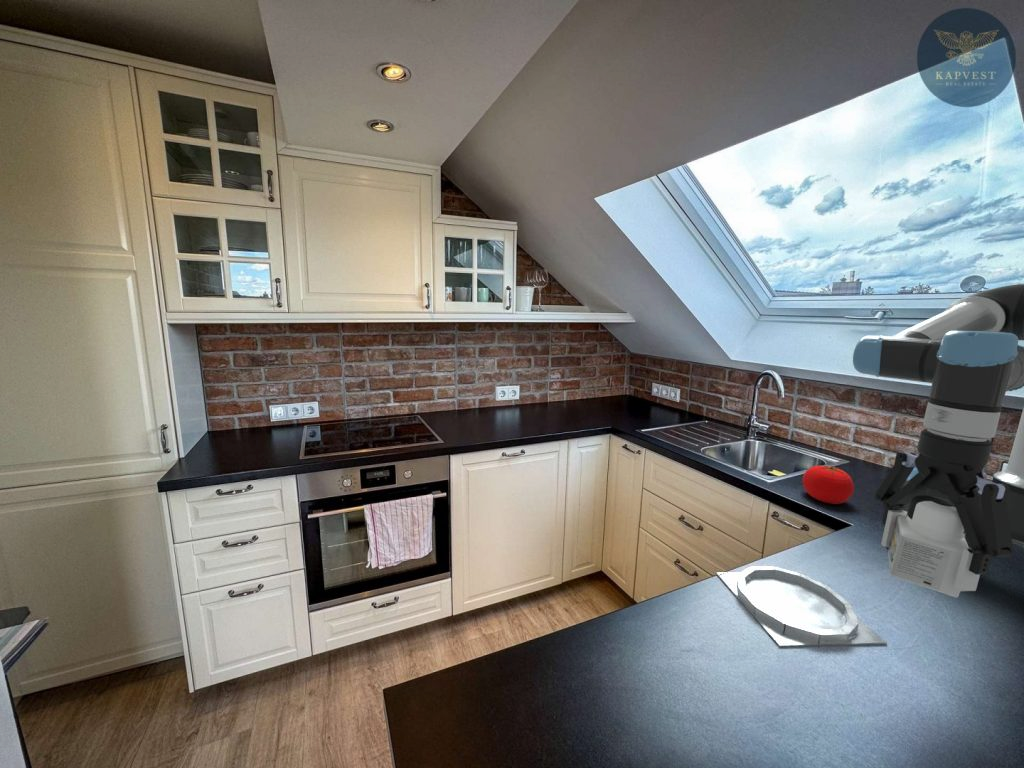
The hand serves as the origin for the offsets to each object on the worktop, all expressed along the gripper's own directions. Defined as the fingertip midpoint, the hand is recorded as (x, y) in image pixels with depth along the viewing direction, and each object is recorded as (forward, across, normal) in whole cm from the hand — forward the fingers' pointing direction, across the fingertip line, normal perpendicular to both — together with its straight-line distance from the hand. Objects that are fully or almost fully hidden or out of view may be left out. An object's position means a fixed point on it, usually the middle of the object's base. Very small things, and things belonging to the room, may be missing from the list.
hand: (924, 565), depth 67 cm
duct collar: (+18, -14, -9) cm, 24 cm away
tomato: (+18, -59, +38) cm, 72 cm away
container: (+2, 0, 0) cm, 2 cm away
